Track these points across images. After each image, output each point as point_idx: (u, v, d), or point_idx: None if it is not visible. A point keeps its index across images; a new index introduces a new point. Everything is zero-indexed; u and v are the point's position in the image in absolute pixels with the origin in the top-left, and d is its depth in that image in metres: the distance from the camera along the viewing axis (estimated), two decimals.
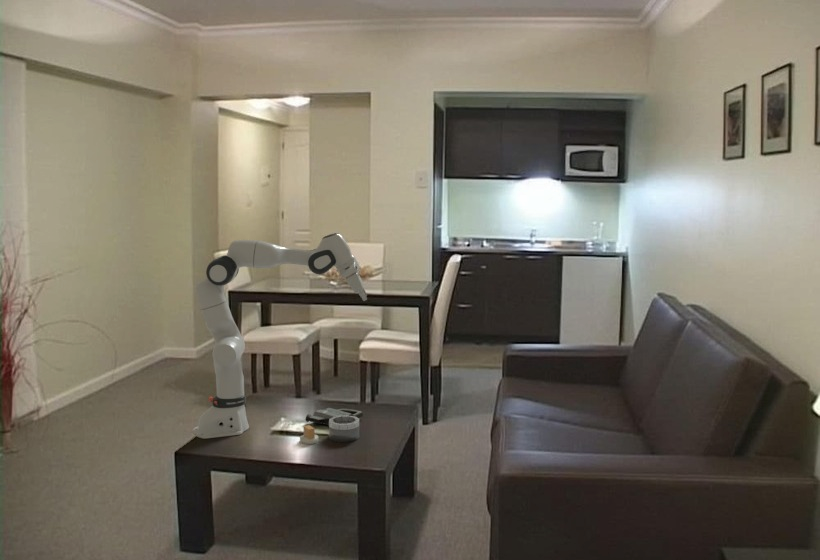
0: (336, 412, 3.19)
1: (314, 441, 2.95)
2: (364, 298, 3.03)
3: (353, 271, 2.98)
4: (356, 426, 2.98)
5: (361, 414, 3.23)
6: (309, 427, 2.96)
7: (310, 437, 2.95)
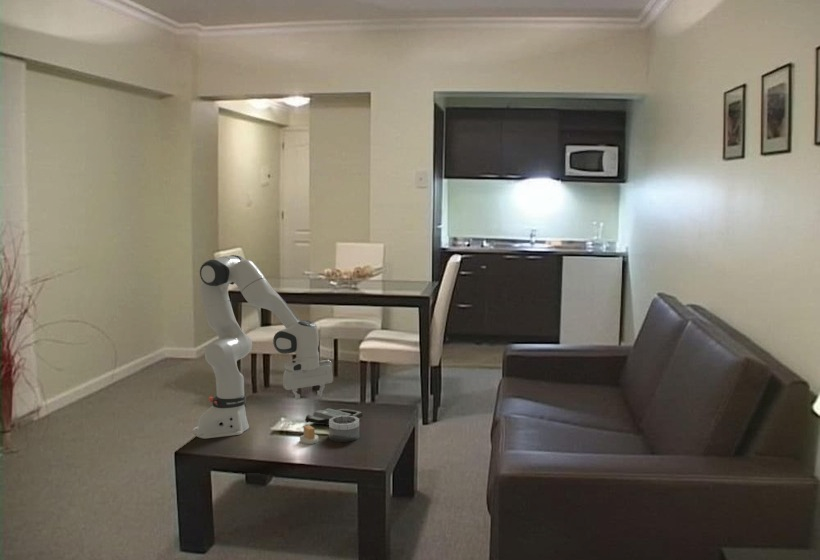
0: (336, 412, 3.18)
1: (314, 441, 2.95)
2: (295, 397, 2.92)
3: (289, 368, 2.87)
4: (356, 426, 2.98)
5: (361, 414, 3.23)
6: (309, 427, 2.96)
7: (310, 437, 2.95)
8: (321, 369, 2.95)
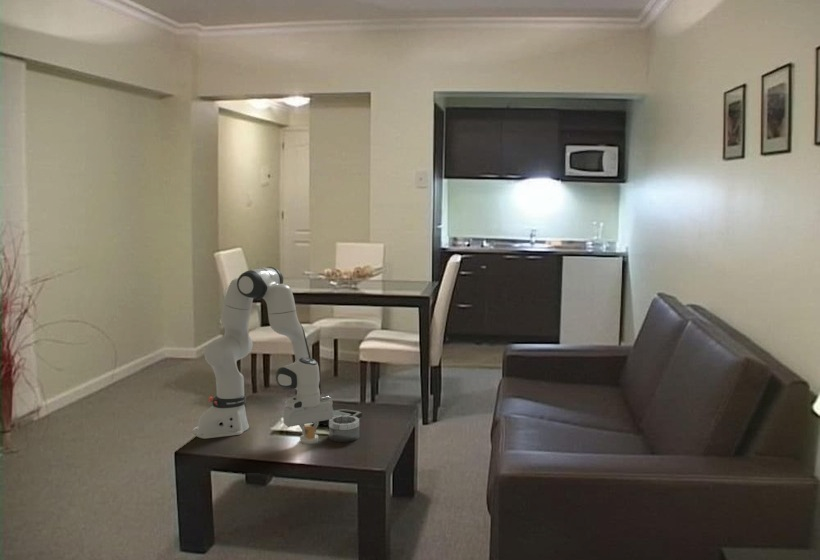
0: (336, 413, 3.18)
1: (314, 441, 2.95)
2: (303, 432, 2.95)
3: (289, 406, 2.89)
4: (356, 426, 2.98)
5: (360, 414, 3.22)
6: (309, 427, 2.96)
7: (310, 437, 2.95)
8: (321, 406, 2.97)
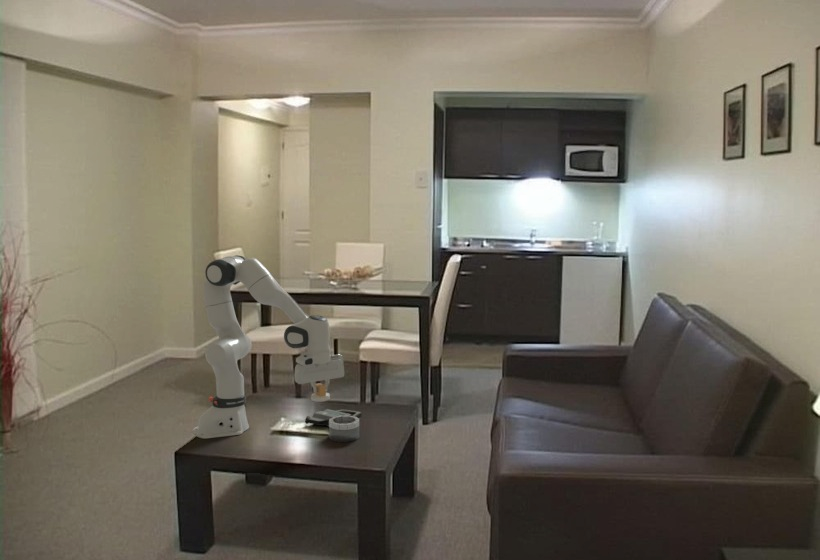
0: (336, 413, 3.17)
1: (325, 398, 2.93)
2: (314, 390, 2.94)
3: (300, 363, 2.88)
4: (356, 426, 2.98)
5: (360, 415, 3.22)
6: (320, 385, 2.95)
7: (321, 394, 2.93)
8: (332, 363, 2.96)
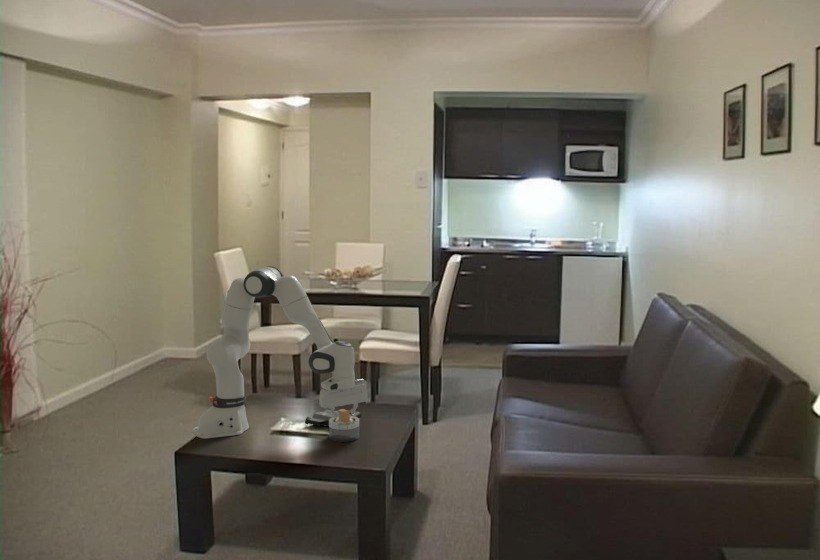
0: None
1: None
2: (333, 415, 2.98)
3: (325, 388, 2.93)
4: (356, 426, 2.98)
5: (360, 415, 3.22)
6: (344, 411, 3.00)
7: (345, 420, 2.99)
8: (356, 388, 3.01)
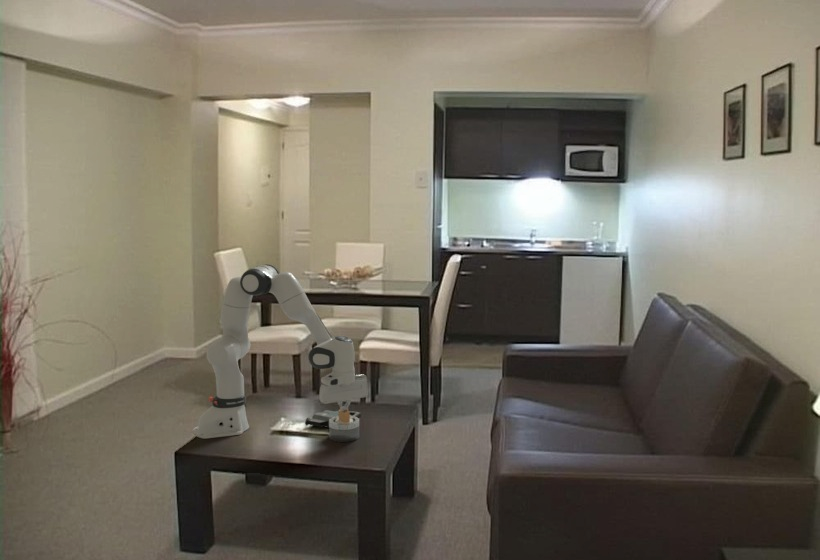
0: (336, 414, 3.16)
1: None
2: (341, 409, 3.00)
3: (325, 383, 2.93)
4: (356, 426, 2.98)
5: (359, 415, 3.22)
6: (344, 411, 3.00)
7: (345, 420, 2.99)
8: (356, 383, 3.00)
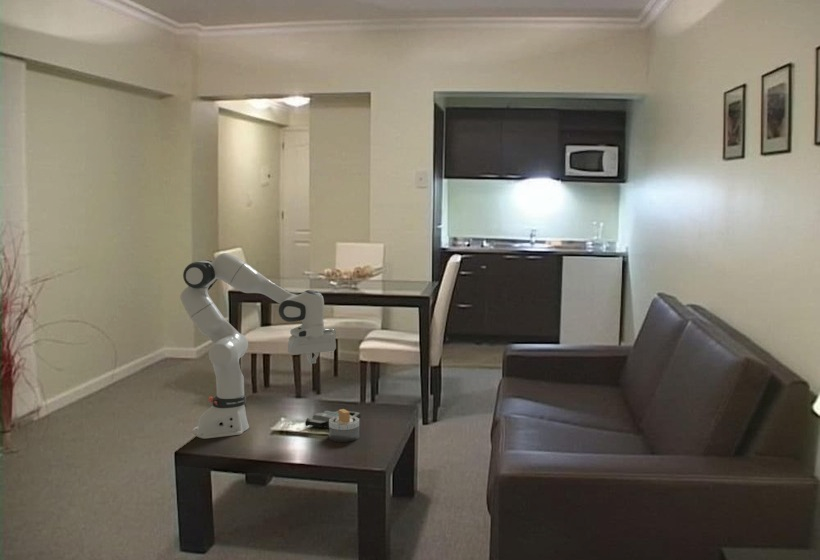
0: (336, 414, 3.15)
1: None
2: (308, 361, 3.08)
3: (294, 334, 3.01)
4: (356, 426, 2.98)
5: (359, 415, 3.21)
6: (344, 411, 3.00)
7: (345, 420, 2.99)
8: (325, 337, 3.08)
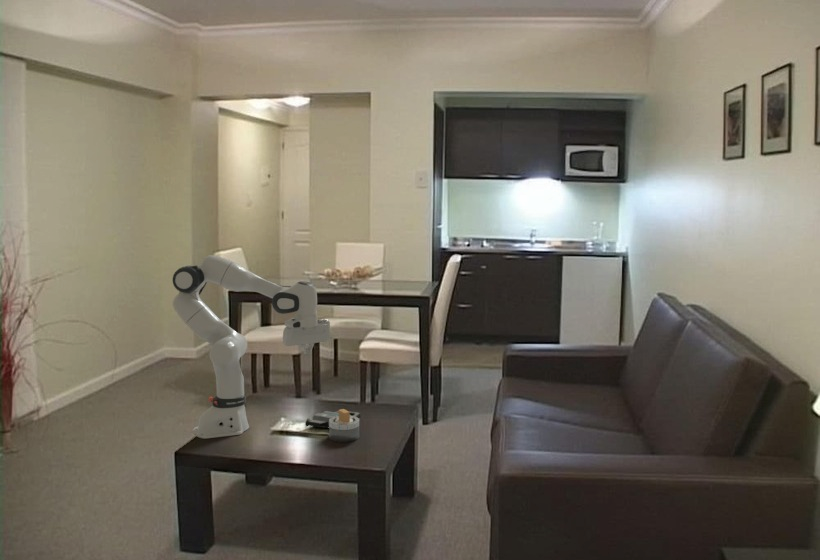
0: (336, 415, 3.15)
1: None
2: (304, 352, 3.09)
3: (288, 326, 3.03)
4: (356, 426, 2.98)
5: (359, 415, 3.21)
6: (344, 411, 3.00)
7: (345, 420, 2.99)
8: (319, 327, 3.10)
